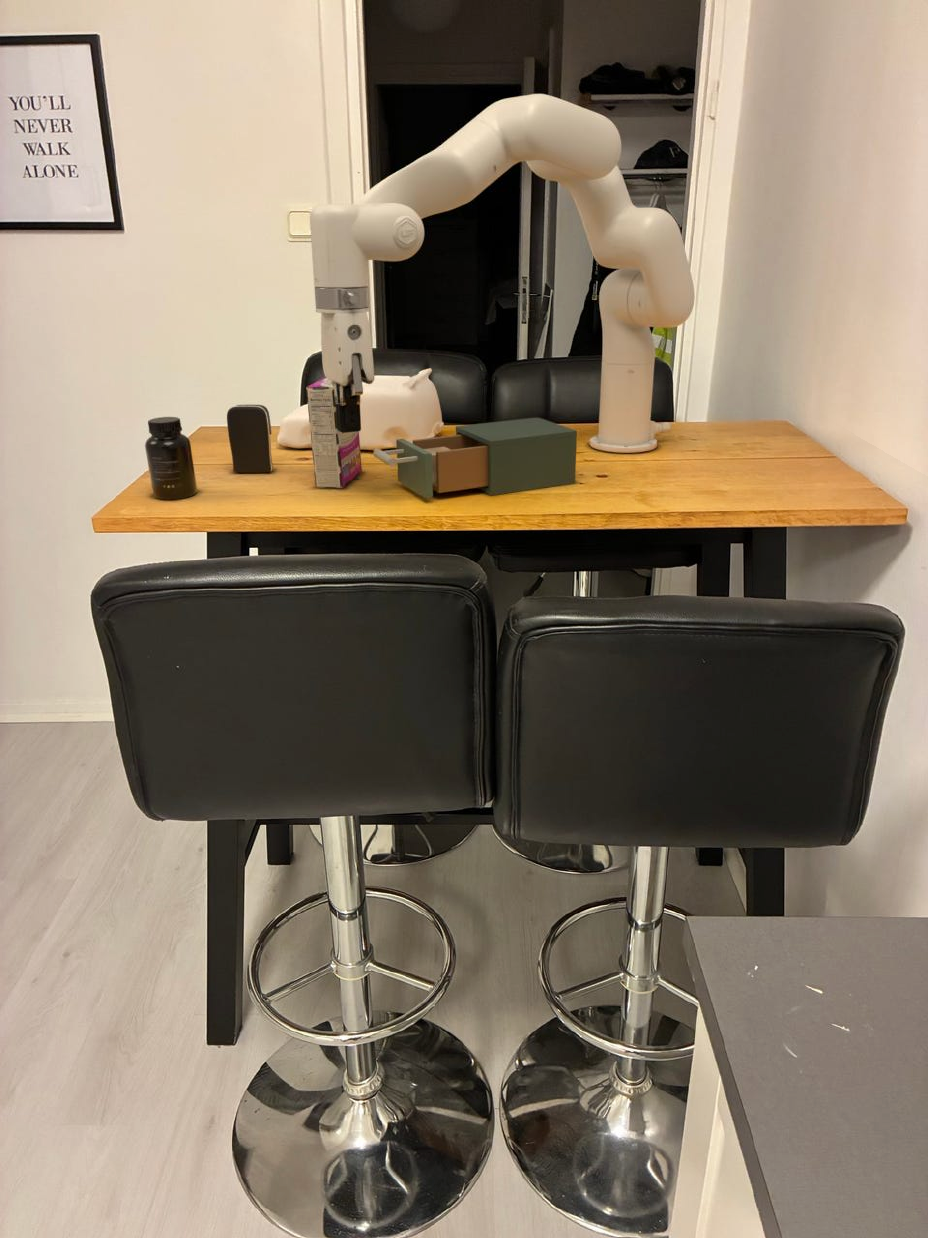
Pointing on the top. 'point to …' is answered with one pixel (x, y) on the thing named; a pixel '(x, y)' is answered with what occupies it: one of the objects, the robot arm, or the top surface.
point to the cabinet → (525, 454)
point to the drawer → (439, 464)
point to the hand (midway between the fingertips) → (349, 430)
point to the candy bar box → (331, 440)
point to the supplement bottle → (170, 460)
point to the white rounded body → (380, 414)
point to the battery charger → (250, 438)
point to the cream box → (433, 451)
